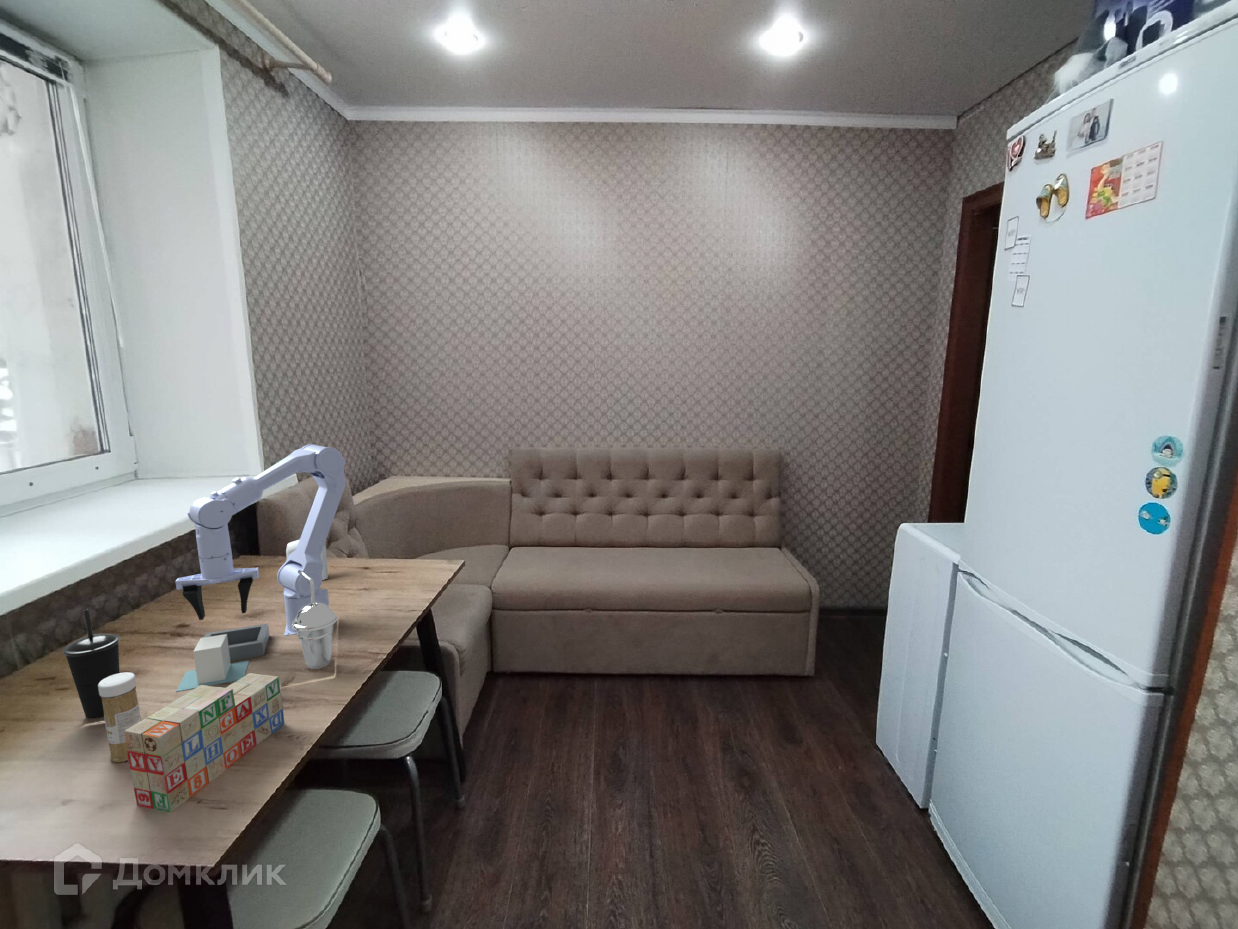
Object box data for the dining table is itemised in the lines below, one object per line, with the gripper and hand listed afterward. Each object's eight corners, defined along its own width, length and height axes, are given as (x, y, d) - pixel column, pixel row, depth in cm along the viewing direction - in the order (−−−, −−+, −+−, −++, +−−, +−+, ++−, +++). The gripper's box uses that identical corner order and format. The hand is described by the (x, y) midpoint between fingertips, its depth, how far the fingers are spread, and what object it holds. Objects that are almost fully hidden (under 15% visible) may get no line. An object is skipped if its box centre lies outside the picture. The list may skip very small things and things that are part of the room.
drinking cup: (68, 730, 103) (49, 622, 99) (83, 707, 109) (65, 605, 106) (124, 718, 106) (107, 613, 102) (135, 697, 113) (119, 598, 109)
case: (269, 637, 137) (268, 623, 136) (264, 657, 128) (262, 642, 127) (207, 647, 132) (205, 633, 131) (197, 669, 123) (195, 653, 122)
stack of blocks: (255, 719, 106) (248, 656, 104) (285, 724, 104) (278, 660, 102) (135, 806, 85) (122, 729, 83) (170, 814, 84) (158, 736, 82)
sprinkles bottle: (107, 755, 96) (94, 679, 94) (142, 741, 100) (131, 668, 97) (113, 767, 93) (100, 689, 91) (149, 753, 97) (138, 677, 94)
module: (230, 665, 123) (226, 634, 122) (224, 679, 118) (220, 646, 116) (205, 669, 121) (200, 638, 120) (197, 684, 116) (193, 651, 115)
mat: (249, 663, 125) (249, 660, 125) (243, 681, 118) (243, 678, 118) (186, 674, 121) (186, 671, 121) (176, 694, 114) (176, 691, 113)
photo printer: (329, 575, 175) (325, 535, 173) (327, 580, 171) (323, 539, 169) (290, 579, 172) (286, 539, 170) (287, 585, 168) (283, 543, 166)
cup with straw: (294, 680, 119) (284, 586, 115) (297, 659, 127) (288, 571, 123) (341, 671, 122) (333, 579, 119) (341, 651, 130) (333, 565, 127)
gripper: (168, 565, 118) (178, 629, 120) (253, 555, 124) (260, 615, 126) (176, 554, 124) (185, 615, 127) (257, 545, 130) (264, 603, 133)
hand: (223, 614), depth 127 cm, fingers open, 7 cm apart
